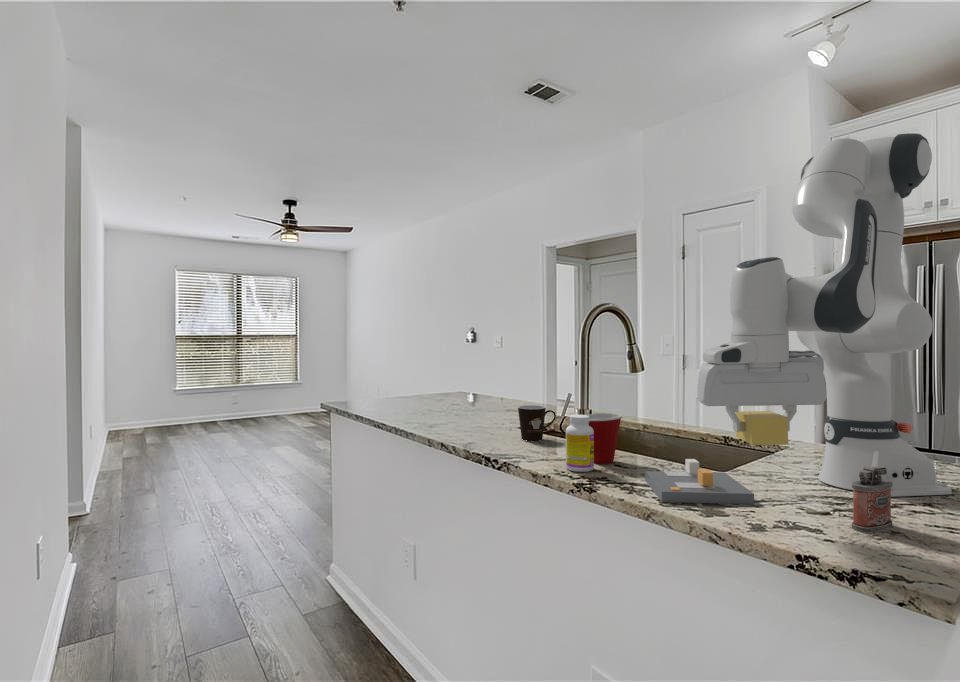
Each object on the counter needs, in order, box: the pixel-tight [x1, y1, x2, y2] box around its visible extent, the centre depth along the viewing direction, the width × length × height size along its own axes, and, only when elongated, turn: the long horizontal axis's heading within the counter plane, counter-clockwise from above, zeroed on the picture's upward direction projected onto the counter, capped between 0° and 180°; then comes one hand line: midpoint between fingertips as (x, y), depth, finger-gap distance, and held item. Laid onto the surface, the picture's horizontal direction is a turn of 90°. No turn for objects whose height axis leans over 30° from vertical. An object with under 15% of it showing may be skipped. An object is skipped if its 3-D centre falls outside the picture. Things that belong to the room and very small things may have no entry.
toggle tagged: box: [698, 468, 713, 486], centre depth 103 cm, size 2×3×2 cm, turn 174°
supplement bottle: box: [565, 414, 595, 473], centre depth 124 cm, size 7×7×13 cm
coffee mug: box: [517, 404, 557, 442], centre depth 160 cm, size 12×9×10 cm
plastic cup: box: [586, 412, 623, 465], centre depth 132 cm, size 11×11×12 cm
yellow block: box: [735, 410, 789, 446], centre depth 90 cm, size 6×7×5 cm
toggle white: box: [684, 458, 700, 474], centre depth 112 cm, size 2×3×2 cm, turn 174°
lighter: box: [851, 466, 893, 534], centre depth 86 cm, size 8×3×10 cm, turn 113°
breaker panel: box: [644, 470, 755, 505], centre depth 106 cm, size 17×15×2 cm
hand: (760, 431), depth 90 cm, fingers closed on yellow block, 6 cm apart
